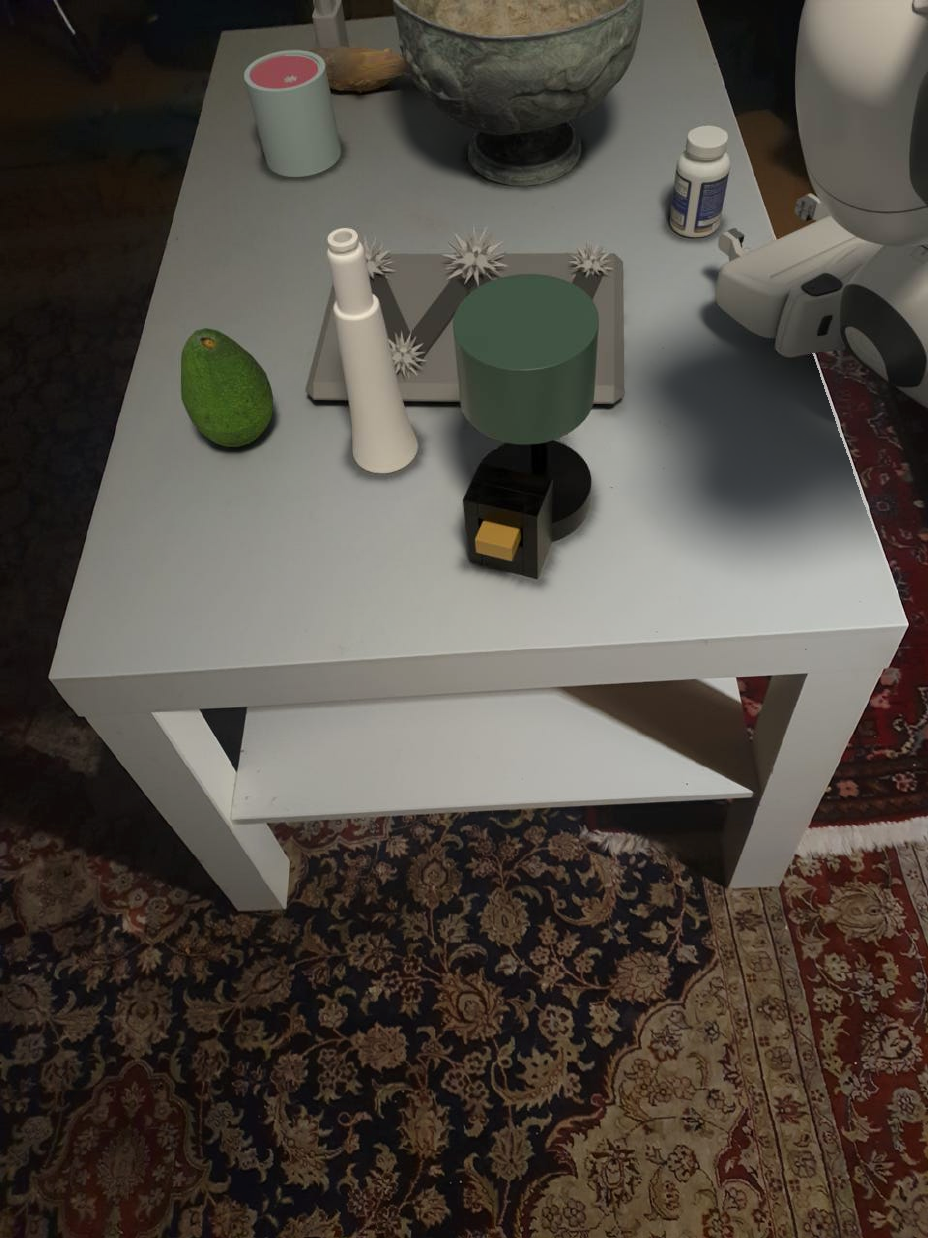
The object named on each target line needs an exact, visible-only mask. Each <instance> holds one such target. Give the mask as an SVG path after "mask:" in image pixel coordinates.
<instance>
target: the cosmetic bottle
mask: <svg viewBox="0 0 928 1238" xmlns="http://www.w3.org/2000/svg"><path fill="white" fill-rule="evenodd" d="M358 238H359V235H358V232H357V231H356V230H354V229H352V228H349V227H341V228H337V229H335V230H332V231H331V232H330V233H329V234H328V235H327V245H328V248H327V251H326V257H327V263H328V266H329V269H330V270H329V271H330V275H331V279H332V285H334V289H335V294H336V298H337V300H336V302H335V304H334V316H335V322H336V329H337V335H338V341H339V347H340V353H341V359H342V364H343V370H344V376H345V381H346V387H347V393H348V400H347V401H348V405H349V413H350V422H351V437H352V439H351V440H352V441H351V443H352V446H351V447H352V449H351V450H352V451H351V452H352V453H351V454H352V457H353V459H354V461H355V463H356V464H357V465H358V466H359V468H362V470H365V471H367V472H370V473H374V474H389V473H394V472H397V471H399V470H402V469H403V468H405V467H407V466H408V465H410V463H411V462H412V461H413V460H414V459H415V457H416V455H417V453H418V449H419V443H418V440H417V437H416V435H415V433H414V430H413V427H412V425H411V422H410V418H409V416H408V413H407V410H406V407H405V403H404V401H403V399H402V395H401V391H400V388H399V383H398V379H397V375H396V371H395V366H394V362H393V358H392V353H391V349H390V344H389V340H388V336H387V331H386V327H385V323H384V319H383V315H382V311H381V307H380V303H379V300H378V298H377V297H376V296H375V295H374V294H372V289H371V284H370V278H369V273H368V268H367V262H366V257H365V251H364V248H363V245H362V242H361V243H360V242H359V239H360V238H359V239H358Z"/></svg>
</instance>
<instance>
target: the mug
mask: <svg viewBox="0 0 928 1238" xmlns="http://www.w3.org/2000/svg"><path fill="white" fill-rule="evenodd" d="M243 77H244V82H245V86H246V89H247V93H248V97H249V102H250V105H251V109H252V113H253V117H254V120H255V124H256V128H257V132H258V136H259V140H260V144H261V148H262V151H263V154H264V159H265V163H266V166H267V167H268V169H269V170H270V171H271V172H273V173H275V174H276V175H279V176H282V177H289V178H303V177H304V178H305V177H310V176H314V175H317V174H320V173H323V172H324V171H325V172H326V170H328V169H330V168H332V167H333V166H334V165H335V164H336V163H337V162H338V161H339V160H340V158H341V155H342V148H341V141H340V137H339V131H338V126H337V120H336V116H335V111H334V110H335V109H334V104H333V98H332V93H331V88H329V83H328V77H327V72H326V67H325V62H324V60H323V59H322V58H321V57H320V56H319V55H317V54H315V53H312V52H309V50H302V49H288V50H287V49H286V50H279V51H276V52H271V53H268V54H266V55H263V56H261V57H259V58H257V59H255V60H254V61H252V62H251V63H250V64H249V65H248V66H247V68H246V69H245V71H244V74H243Z"/></svg>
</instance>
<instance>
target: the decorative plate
mask: <svg viewBox="0 0 928 1238" xmlns="http://www.w3.org/2000/svg"><path fill="white" fill-rule="evenodd" d="M487 228H488V226H486V227H485V228H484V230H483V232H482V234H481V236H480V238H479V239H478V238H477V233H476V227H475V224H474V223H473V226H472V234H471V235H470V233H469V230H468V227H467V226H465V241H466V242H465V241H464V240H463V239H462V238H461V237H460V236H459V235H458V234H457V233H455V232H453V236H454V238H455V240H456V242H457V244H458V245H459V246H458V245H455V244H453V243H451V242H449V241H447V243H448V244H449V245H446V246H447V247H448V248H449V249H450V250H451V251H453V253H391V252H392V251H393V250H392V248H390V249H387V250H386V251H384V252H381V249H382V247H383V245H384V242H383V240H381V241H380V242H379V243H378V245H377V246H376V244H377V238H378V237H377V236H375V238H374V241H373V242H372V244H371V246H370V248H369V243H368V241H367V237H366V235H364V240H363V239H360V238H359V237H358V239H359V242H360V243H361V244H362V245H363V248H364V251H365V257H366V262H367V268H368V273H369V278H370V284H371V289H372V294H374V295H375V296H376V297H377V298H378V300H379V303H380V307H381V311H382V315H383V319H384V323H385V327H386V331H387V336H388V340H389V344H390V349H391V353H392V358H393V362H394V366H395V371H396V375H397V379H398V383H399V388H400V391H401V395H402V399H403V402H447V403H448V402H451V403H454V402H456V403H457V402H459V403H460V394H459V383H458V373H457V363H456V353H455V343H454V333H453V319H454V315H455V312H456V310H457V308H458V306H459V305H460V303H461V302H462V301H463V300H464V298H465V297H466V296H467V295H469V294H470V293H471V292H472V291H474V290H475V289H476V288H478V287H480V286H482V285H483V284H485V283H488V282H490V281H492V280H495V279H498V278H502V277H506V276H511V275H518V274H541V275H548V276H553V277H557V278H560V279H563V280H566V281H568V282H570V283H572V284H574V285H576V286H578V287H579V288H581V289H582V290H583V291H584V292H586V293H587V294H588V295H589V296H590V298H591V299H592V300H593V302H594V304H595V306H596V308H597V311H598V314H599V330H598V346H597V361H596V377H595V393H594V402H593V405H594V404H597V405H598V404H601V405H603V404H604V405H605V404H606V405H607V404H608V405H611V404H612V405H614V404H616V402H618V401H619V400H620V399H622V398H623V397H624V396H625V325H624V324H625V317H624V316H625V315H624V312H625V311H624V308H625V307H624V305H625V304H624V261H623V260H622V259H621V258H620V257H619V256H618V255H617V254H615V253H614V252H612V251H609V252H603V251H604V248H605V245H606V244H604V245H603V246H599V245H600V242H598V243H597V245H596V246H595V248H594V250H593V246H592V241H591V240H590V241H589V247H588V242H585V244H583V250H584V251H583V250H582V249H581V248H580V246H578V245H577V246H576V247H575V248H576V251H577V252H559V253H557V252H556V253H555V252H553V253H552V252H551V253H550V252H546V253H545V252H544V253H543V252H541V253H540V252H536V253H533V252H532V253H531V252H529V253H527V252H526V253H524V252H523V253H520V252H519V253H518V252H517V253H513V252H511V253H509V252H508V253H507V251H506V252H505V251H503V252H494V251H496V250H497V249H498V248H499V247H500V246H501V245H502V244H503V243H504V240H502V241H499V242H498V243H496V244H492V245H490V242H491V240H492V236H493V235H494V231H495V230H493V231H492V232H491V233H490V235H489V236H488V237H487V233H488V232H487ZM486 237H487V238H486ZM380 252H381V253H380ZM336 300H337V298H336V294H335V289H334V285H333V284H332V285H331V289H330V293H329V297H328V301H327V304H326V307H325V313H324V316H323V320H322V323H321V328H320V331H319V335H318V338H317V343H316V348H315V351H314V354H313V359H312V363H311V367H310V370H309V374H308V378H307V382H306V386H305V392H306V394H307V395H309V397H311V399H313V401H315V400H316V401H349V400H348V393H347V387H346V381H345V376H344V370H343V364H342V359H341V353H340V347H339V341H338V335H337V329H336V322H335V316H334V304H335V302H336Z"/></svg>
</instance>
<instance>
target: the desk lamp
mask: <svg viewBox="0 0 928 1238" xmlns="http://www.w3.org/2000/svg"><path fill="white" fill-rule="evenodd" d="M598 330H599V314H598V311H597V308H596V306H595V304H594V302H593V300H592V299H591V298H590V296H589V295H588V294H587V293H586V292H584V291H583V290H582V289H581V288H579V287H578V286H576V285H574V284H572V283H570V282H568V281H566V280H563V279H560V278H557V277H553V276H548V275H541V274H518V275H511V276H506V277H502V278H498V279H495V280H492V281H490V282H488V283H485V284H483V285H482V286H480V287H478V288H476V289H475V290H474V291H472V292H471V293H470V294H469V295H467V296H466V297H465V298H464V300H463V301H462V302H461V303H460V305H459V306H458V308H457V310H456V312H455V315H454V319H453V333H454V343H455V353H456V363H457V373H458V383H459V394H460V402H459V403H460V407H461V410H462V413H463V415H464V417H465V419H466V420H467V422H468V423H469V424H470V425H471V426H472V427H473V428H474V429H475V430H476V431H478V432H480V434H482V435H484V436H486V437H488V438H490V439H493V440H494V441H498V442H501V443H503V444H500V445H499V446H497V447H495V448H493V449H492V450H490V451H489V452H488V453H487V454H486V455H485V456H484V457H483V459H482V460H481V461H480V462H479V463H478V465H477V467H476V470H475V472H474V474H473V476H472V479H471V481H470V482H469V485H468V487H467V489H466V491H465V494H464V496H463V497H462V506H463V507H462V509H463V516H464V517H463V518H464V525H465V526H464V527H465V534H466V544H467V553H468V561H469V563H472V564H475V565H480V566H484V567H487V568H491V569H497V570H501V571H505V572H509V573H513V574H516V575H522V576H524V577H528V578H532V579H536V580H538V579H539V576H540V574H541V571H542V569H543V567H544V564H545V561H546V558H547V556H548V553H549V551H550V548H551V545H552V543H554V542H557V541H560V540H561V539H564V538H565V537H567V536H569V535H571V534H572V533H573V532H574V531H576V530H577V529H578V528H579V527H580V526H581V525H582V523H583V522H584V521H585V519H586V517H587V516H588V513H589V510H590V505H591V495H592V494H591V493H592V474H591V470H590V468H589V466H588V463H587V462H586V461H585V459H584V458H583V457H582V456H581V455H580V454H579V453H578V451H576V450H575V449H574V448H572V447H570V446H569V445H567V444H564V443H563V442H560V441H557V440H558V439H560V438H562V437H564V436H566V435H568V434H570V433H571V432H573V431H575V430H576V429H577V428H578V427H580V426H581V425H582V424H583V423H584V422H585V421H586V419H587V418H588V416H589V414H590V412H591V411H592V408H593V405H594V403H593V402H594V393H595V377H596V361H597V346H598ZM484 519H485V520H489V521H493V522H498V523H502V524H506V525H510V526H514V527H519V528H521V540H520V543H519V545H518V548H517V550H516V553H515V555H514V558H513V560H512V561H509V560H505V559H501V558H497V557H493V556H489V555H484V554H480V553H477V552H476V545H475V538H476V536H477V534H478V531H479V529H480V527H481V525H482V522H483V520H484Z"/></svg>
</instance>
